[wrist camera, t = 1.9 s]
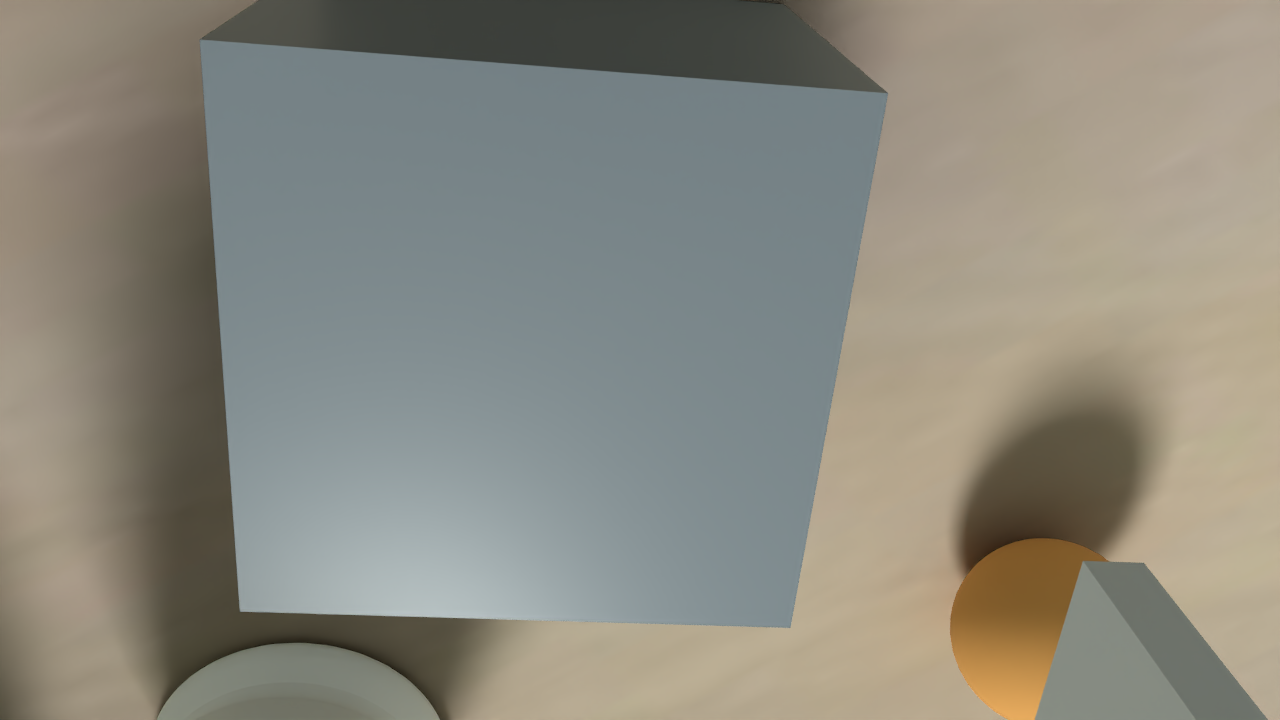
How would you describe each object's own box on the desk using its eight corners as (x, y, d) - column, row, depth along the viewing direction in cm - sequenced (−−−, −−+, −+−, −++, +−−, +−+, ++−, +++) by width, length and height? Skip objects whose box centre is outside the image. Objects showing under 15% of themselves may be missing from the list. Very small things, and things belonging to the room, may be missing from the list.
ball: (946, 498, 32) (1012, 613, 27) (1120, 505, 32) (1213, 619, 28) (911, 644, 34) (967, 773, 29) (1074, 648, 34) (1154, 776, 30)
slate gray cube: (313, -36, 25) (199, 39, 17) (783, 4, 26) (887, 93, 18) (325, 390, 29) (240, 611, 21) (727, 410, 30) (790, 627, 22)
